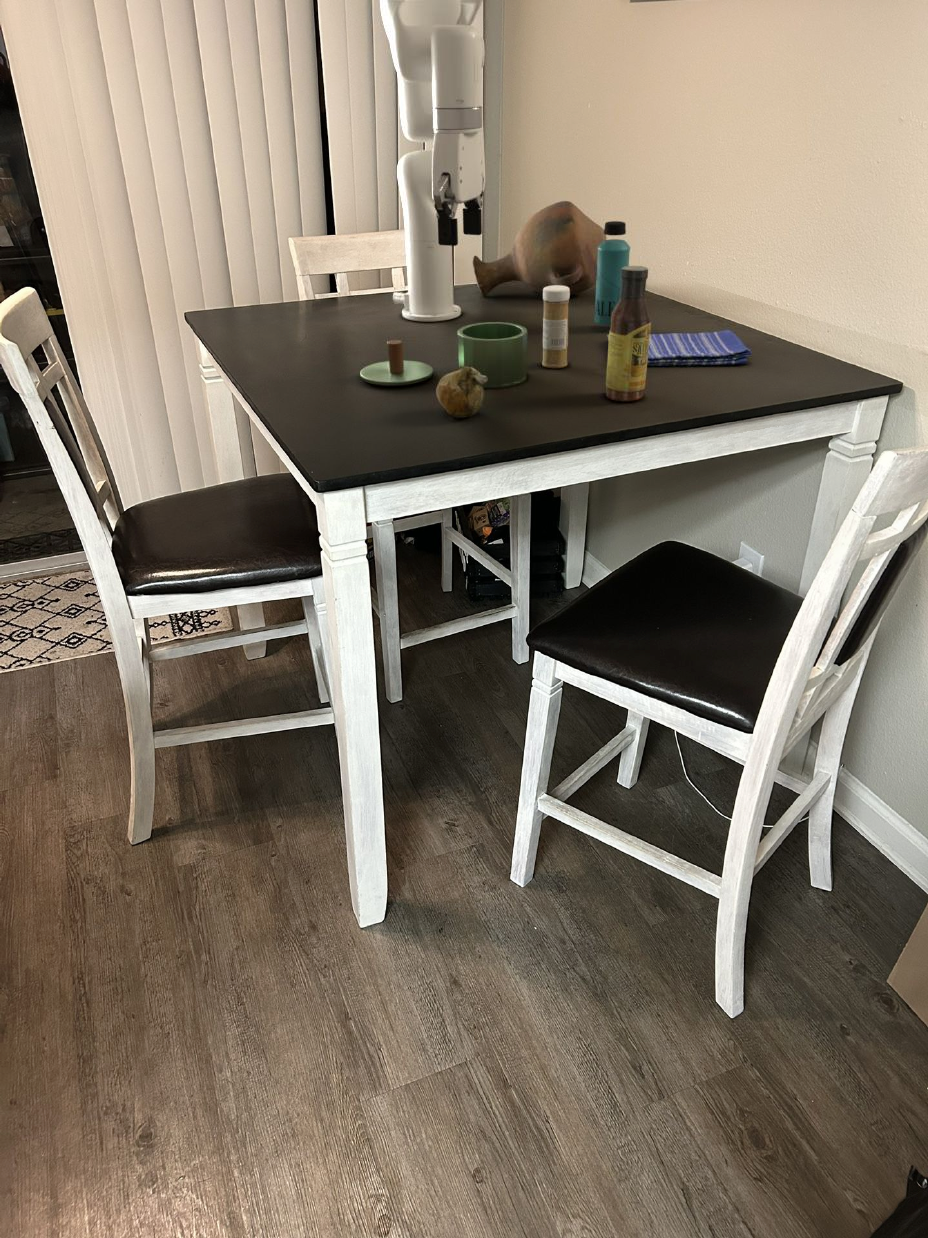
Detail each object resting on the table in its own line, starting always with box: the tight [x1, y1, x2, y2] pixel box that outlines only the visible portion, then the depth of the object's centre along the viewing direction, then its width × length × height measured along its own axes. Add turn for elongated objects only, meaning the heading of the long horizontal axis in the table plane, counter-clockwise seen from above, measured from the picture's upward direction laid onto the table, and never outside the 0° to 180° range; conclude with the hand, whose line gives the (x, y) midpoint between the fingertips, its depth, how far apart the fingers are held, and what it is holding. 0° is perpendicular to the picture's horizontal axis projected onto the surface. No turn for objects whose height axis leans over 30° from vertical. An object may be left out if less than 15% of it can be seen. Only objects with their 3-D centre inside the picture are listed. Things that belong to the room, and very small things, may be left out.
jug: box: [472, 200, 607, 298], centre depth 205 cm, size 20×20×30 cm
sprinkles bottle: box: [541, 285, 571, 370], centre depth 160 cm, size 5×5×14 cm
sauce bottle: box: [605, 265, 652, 403], centre depth 143 cm, size 7×6×20 cm
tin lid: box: [359, 339, 434, 387], centre depth 158 cm, size 13×13×6 cm
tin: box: [457, 321, 528, 389], centre depth 156 cm, size 12×12×8 cm
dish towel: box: [607, 329, 753, 367], centre depth 168 cm, size 17×24×3 cm
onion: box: [435, 366, 488, 419], centre depth 141 cm, size 8×8×8 cm
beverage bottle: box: [593, 220, 631, 326], centre depth 178 cm, size 6×7×20 cm
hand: (460, 239), depth 150 cm, fingers open, 9 cm apart
